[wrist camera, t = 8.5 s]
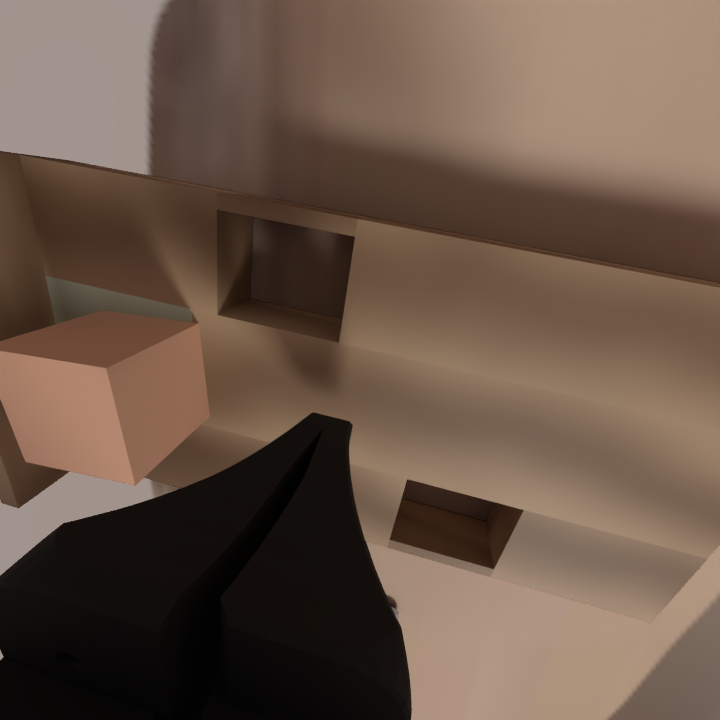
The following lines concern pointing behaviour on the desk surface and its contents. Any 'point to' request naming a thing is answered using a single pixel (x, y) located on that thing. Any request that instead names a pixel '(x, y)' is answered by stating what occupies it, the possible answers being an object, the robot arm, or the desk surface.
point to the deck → (409, 374)
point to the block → (104, 392)
